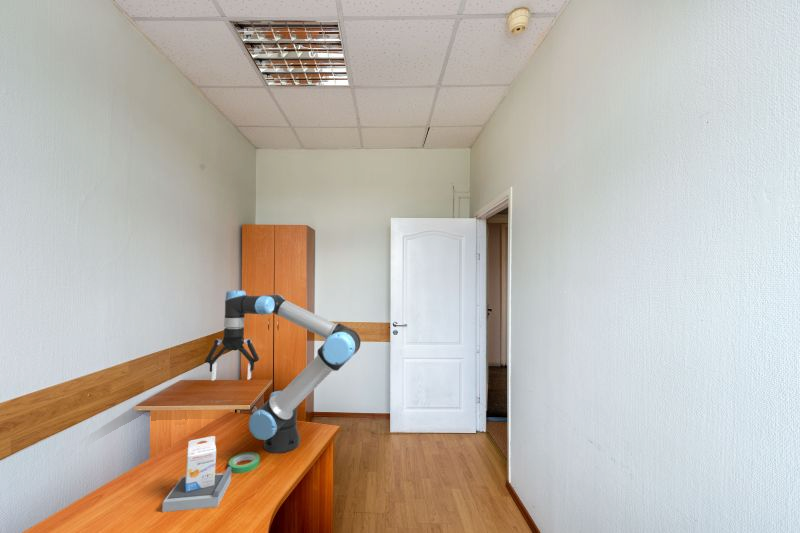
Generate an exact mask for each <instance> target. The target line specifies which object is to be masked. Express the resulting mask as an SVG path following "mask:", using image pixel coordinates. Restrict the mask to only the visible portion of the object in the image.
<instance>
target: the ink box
mask: <svg viewBox="0 0 800 533" xmlns="http://www.w3.org/2000/svg"><path fill="white" fill-rule="evenodd" d="M202 442H203V443H202ZM216 460H217V447H216V436H215V435H213V436H212V435H211V436H206V437H202V438H201V437H200V438H197V439H192V440H189V441H188V445H187V453H186V469H185V476H186V482H185V492H189V491H193V490H197V489H201V488H205V487H209V486H213V485H214V483H215V474H216V465H217V464H216V463H217V462H216Z"/></svg>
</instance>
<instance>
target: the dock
mask: <svg viewBox="0 0 800 533" xmlns="http://www.w3.org/2000/svg"><path fill="white" fill-rule="evenodd" d="M231 469H232V467H226V470H225V471H224V472H220V473H215V483H214V485H213V486H209V487H205V488H201V489H197V490H193V491H189V492H185V482H186V475H184V476H181V477H180V479H179V481H177V483H176V484H175V486H173V488H172V490H171V491H169V493H168V495H167V496H166V497H165V498H164V499H163V501H162V507H161V508H162V510H161V513H165V512H167V513H168V512H177V511H187V510H198V509H206V508H207V509H208V508H217V507H219V505H220V503H221V501H222V499H223V497H224V496H225V493H226V491H227V489H228V487H229V485H230V483H231V482H232V472H231Z"/></svg>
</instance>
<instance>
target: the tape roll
mask: <svg viewBox="0 0 800 533" xmlns="http://www.w3.org/2000/svg"><path fill="white" fill-rule="evenodd" d="M243 461H250V462H249V463H245V464H240V465H239V463H240V462H241V463H242V462H243ZM259 465H260V455H259V454H258V453H257V452H252V451H251V452H250V451H248V452H242V453H241V452H240V453H239V454H237V455H234V456H232V457H231V458H230V459H229V461H228V467H232V469H231V474H238V475H239V474H240V475H241V474H246V473H249V472H252V471H253V470H255V469H256V468H258V467H259ZM228 467H227V468H228Z"/></svg>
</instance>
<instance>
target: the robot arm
mask: <svg viewBox="0 0 800 533" xmlns="http://www.w3.org/2000/svg"><path fill="white" fill-rule="evenodd" d="M271 313H273V314H275V315H276V316H279V317H280V318H283V319H284V320H287V321H289V322H290V323H293V324H295V325H297V326H300V328H303V329H305V330H307V331H309V332H311V333H313V334H315V335H317V336H319V337H322V338H323V339H325V341H324V342H323V344H322V345H321V346H320V347H319V348H318V349H317V351H316V353H317V354H316V357H314V358H313V359H312V360H311V361H310V362H309V364H307V365H306V367H305V368H304V369H302V371H300V373H299V374H298V375H297V376H296V377H295V378H294V379H293V380H292V381H291V382H290V383H289V384H288V385H287V386H286V387H285V388H284V389H283V390H277V391H273V392H271V393H270V395H269V398H268V400H267V401H266V402H265V403H263V405H262V406H260V407H259V408H258V409H257V410H255V411H253V413H252V414H251V415H250V417H249V420H248V429H249V431H250V433H251V435H252V436H253V437H254V438H256V439H258V440H263V449H264V450H265V452H268V453H270V454H271V453H272V454H281V453H287V452H291V451H292V450H294V449H296V448H297V447H298V446H299V445H300V443H301V442H300V441H301V437H300V433H299V429H298V426H297V418H298V406H299V405H300V404H301V403H302V402H303V401H305V399H306V398H307V397H308V396H309V395H310V394H311V393H312V392H313V391H314V390H315V389H316V388H317V387H318V386H319V385H320V384H321V383H322V381H324V380H325V379H326V378H327V377H328V375H330V374H331V373H332V372H338V371H339V370H340V369H341V368H342V367H343V366H344V365H346V363H347V362H348V361H349V360H350V359H352V357H353V356H354V355H356V353H357V352H358V351H359V349H360V348H361V344H362V343H361V337H360V335H359V333H358V332H357V331H356V330H354V329H353V328H350V327H349V326H346V325H344V324H341V323H340V322H337V323H334V322H332V321H330V320H328V319H325V318H324V317H323V316H322V317H321V316H320V315H318V314H315V313H314V312H312V311H309V310H307V309H305V308H303V307H301V306H299V305H297V304H295V303H293V302H291V301H288V300H286V299H285V297H283V296H282V295H281V294H277V293H276V294H275V293H273V294H267V295H266V294H264V295H247V293H246V291H245V290H240V289H239V290H233V289H231V290H227V291H226V292H225V300H224V318H223V319H224V320H223V322H224V323H223V327H224V328H223V338H222V339H220V338H216V339H215V340H214V342H213V343H214V344H213V346H212V348H211V349H210V352H209V353H208V354H207V357H206V358H205V359H204V363H207V364H209V372H210V373H211V381H213V382H214V381H215V380H216V379H217V366H218V365H217V362H216V361H217V360H218V359H219V358H220V357H221V356H222V355H223V354H224V353H225V351H239V352H240V353H241V354H242V355H243V356H244V357H245V359H246V360H248V363H247V379H246V380H248V381H249V380H250V379H251V378H252V372H253V371H254V369H255V363H256V362H258V361H260V357H259V355H258V353H257V351H256V349H255V347H254V345H253V340H252V338H248V339H247V338H246V339H245V338H244V337H245V336H244V335H245V328H244V327H245V315H246V314H248V315H260V316H261V315H262V316H263V315H270V314H271ZM221 344H222V345H223V347H222V348H221V349H220V350H219V351H218V353H217V354H216V355H215V353H216V351H217V350H218V347H219V346H220V345H221ZM244 344H245V345H246V346H247V348H248V350H249V351H250V353H249V352H248V350H247V349H246V348H245V346H244ZM214 355H215V356H214ZM212 357H213V358H212Z"/></svg>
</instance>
